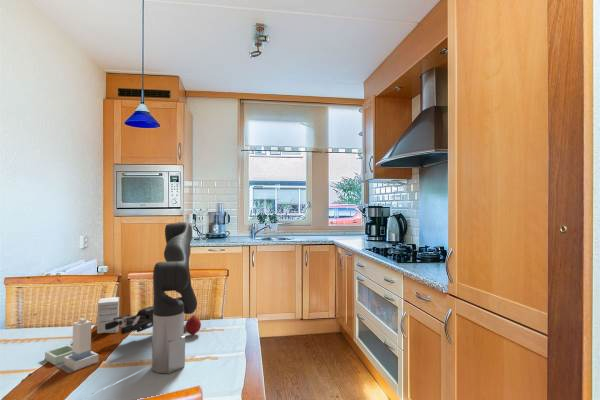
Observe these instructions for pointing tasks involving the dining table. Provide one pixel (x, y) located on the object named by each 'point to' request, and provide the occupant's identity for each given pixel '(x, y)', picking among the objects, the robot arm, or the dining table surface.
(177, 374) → the dining table surface
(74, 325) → the milk carton
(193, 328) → the onion
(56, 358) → the double bin tray
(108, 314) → the supplement box
